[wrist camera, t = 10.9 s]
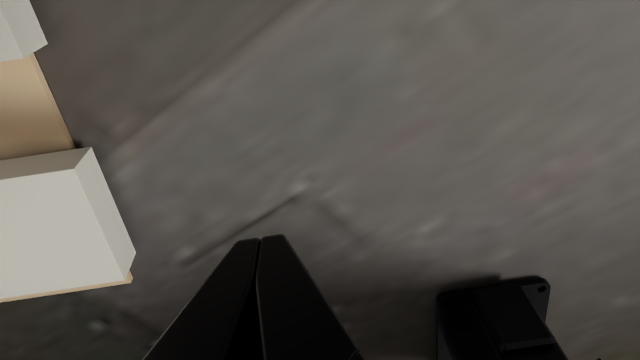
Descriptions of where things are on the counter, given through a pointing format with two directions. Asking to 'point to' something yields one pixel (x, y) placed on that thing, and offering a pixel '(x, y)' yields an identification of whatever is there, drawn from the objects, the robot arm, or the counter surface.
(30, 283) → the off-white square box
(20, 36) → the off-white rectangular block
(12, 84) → the cork mat
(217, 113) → the counter surface
